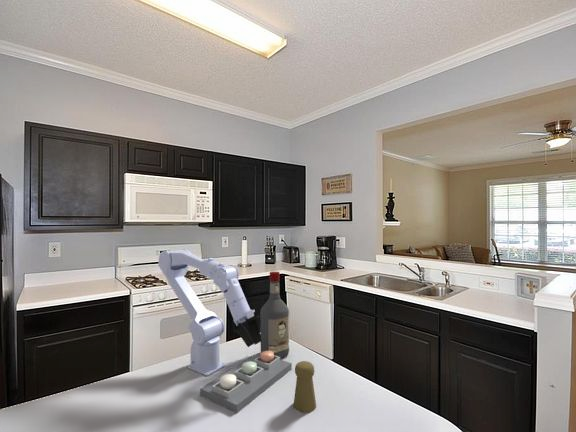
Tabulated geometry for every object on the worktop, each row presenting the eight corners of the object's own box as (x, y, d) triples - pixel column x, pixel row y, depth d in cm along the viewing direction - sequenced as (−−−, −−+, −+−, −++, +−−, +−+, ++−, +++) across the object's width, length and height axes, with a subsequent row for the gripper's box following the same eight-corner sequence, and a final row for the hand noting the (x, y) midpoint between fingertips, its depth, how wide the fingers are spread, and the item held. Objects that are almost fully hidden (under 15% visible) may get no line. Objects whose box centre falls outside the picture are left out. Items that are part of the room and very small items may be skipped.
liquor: (257, 353, 108) (257, 272, 109) (278, 346, 114) (277, 269, 114) (271, 362, 101) (271, 275, 101) (292, 355, 106) (291, 272, 107)
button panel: (200, 395, 82) (200, 383, 82) (258, 358, 104) (258, 349, 104) (237, 413, 74) (237, 399, 74) (291, 369, 96) (291, 358, 96)
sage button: (239, 371, 88) (239, 365, 89) (248, 365, 92) (248, 360, 92) (250, 376, 86) (250, 369, 86) (259, 369, 90) (259, 363, 90)
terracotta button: (257, 360, 96) (257, 354, 96) (265, 354, 100) (265, 349, 100) (268, 363, 94) (268, 357, 94) (276, 358, 97) (276, 352, 97)
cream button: (216, 386, 81) (216, 379, 81) (228, 378, 85) (228, 372, 85) (228, 391, 79) (228, 384, 79) (239, 383, 82) (239, 376, 82)
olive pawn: (315, 414, 74) (314, 370, 74) (291, 411, 75) (291, 368, 75) (317, 399, 80) (317, 359, 80) (295, 397, 81) (295, 357, 81)
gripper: (254, 291, 88) (274, 335, 84) (242, 301, 100) (258, 340, 96) (233, 300, 84) (252, 346, 80) (223, 310, 96) (239, 351, 92)
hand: (254, 344), depth 88 cm, fingers open, 7 cm apart
